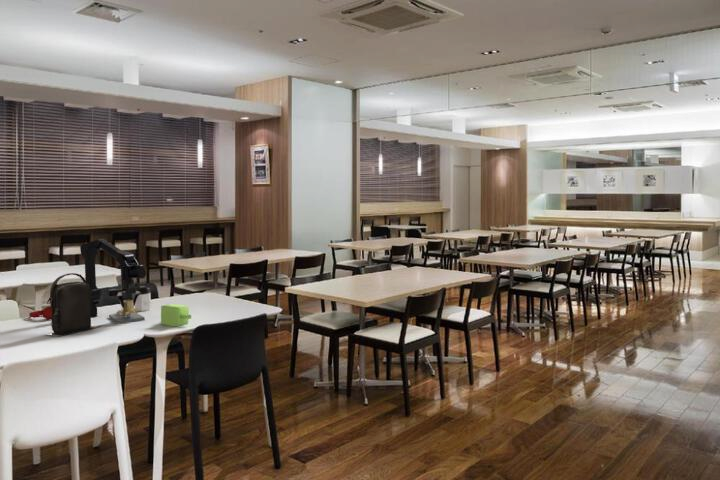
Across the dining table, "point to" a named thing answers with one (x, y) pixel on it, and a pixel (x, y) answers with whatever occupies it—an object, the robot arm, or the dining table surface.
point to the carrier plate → (126, 317)
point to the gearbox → (175, 315)
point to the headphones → (42, 313)
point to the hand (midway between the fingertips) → (128, 307)
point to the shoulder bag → (70, 307)
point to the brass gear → (128, 307)
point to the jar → (143, 301)
